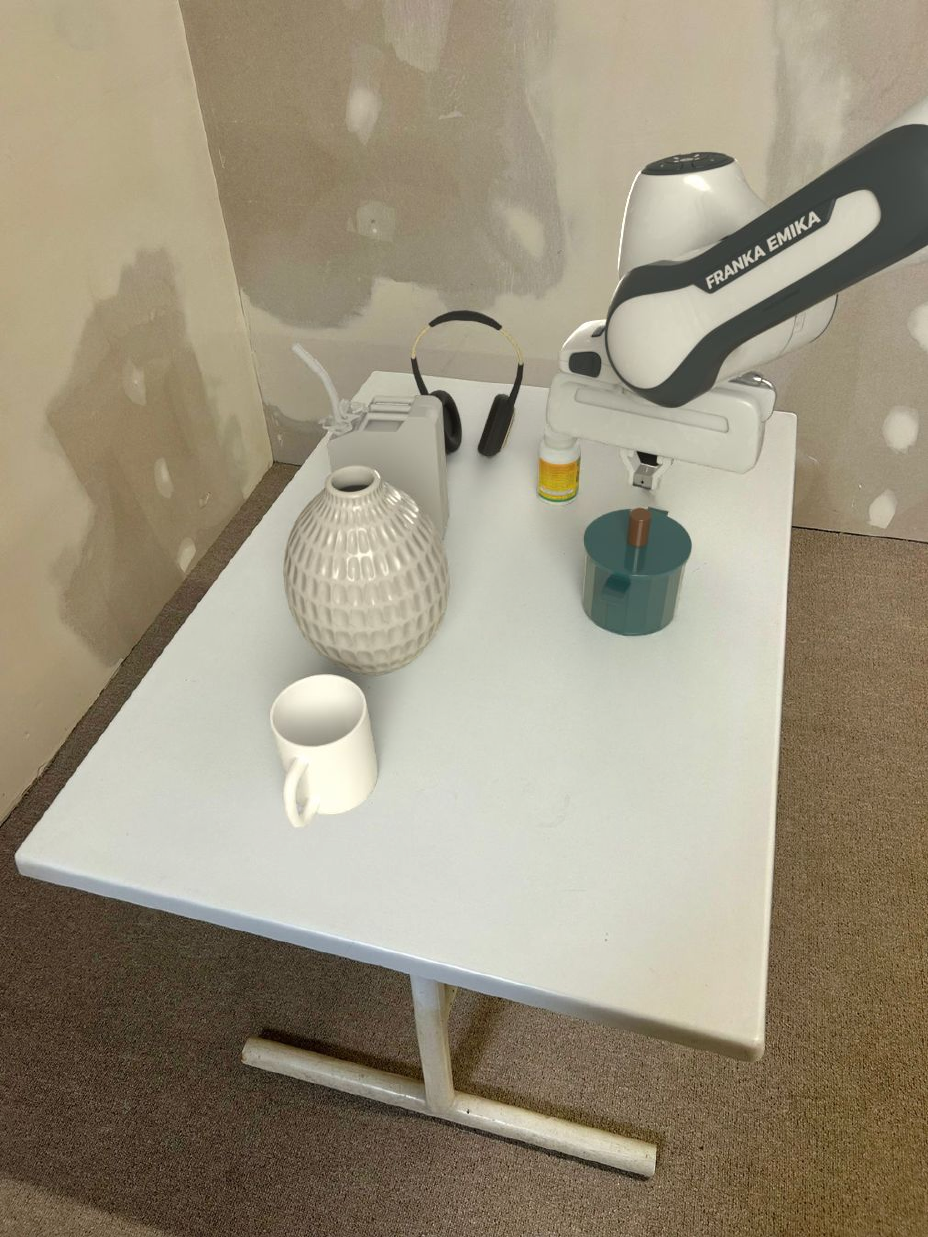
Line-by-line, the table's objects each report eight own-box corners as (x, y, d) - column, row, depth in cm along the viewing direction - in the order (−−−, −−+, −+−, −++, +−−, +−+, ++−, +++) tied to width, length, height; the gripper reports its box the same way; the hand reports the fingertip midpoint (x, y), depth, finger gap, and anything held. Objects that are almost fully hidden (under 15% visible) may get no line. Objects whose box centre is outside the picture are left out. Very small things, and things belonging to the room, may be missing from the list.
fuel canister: (321, 537, 107) (285, 348, 90) (332, 512, 111) (298, 327, 94) (443, 544, 105) (429, 353, 88) (449, 519, 109) (437, 331, 92)
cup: (391, 754, 83) (380, 683, 76) (343, 862, 74) (326, 795, 67) (312, 736, 85) (294, 666, 78) (257, 840, 76) (231, 772, 69)
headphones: (425, 430, 124) (414, 294, 111) (526, 437, 122) (529, 299, 108) (411, 463, 118) (398, 324, 105) (518, 471, 116) (519, 330, 102)
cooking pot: (694, 573, 100) (705, 514, 94) (653, 664, 90) (662, 605, 84) (608, 550, 103) (614, 492, 98) (559, 635, 93) (562, 576, 88)
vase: (473, 615, 96) (466, 443, 81) (424, 724, 85) (405, 549, 70) (339, 589, 100) (308, 420, 85) (276, 690, 89) (228, 518, 74)
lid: (702, 532, 93) (709, 496, 90) (672, 596, 86) (679, 560, 82) (603, 507, 97) (606, 472, 93) (567, 567, 90) (569, 531, 86)
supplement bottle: (532, 485, 114) (534, 421, 107) (572, 480, 114) (576, 416, 107) (541, 509, 110) (543, 444, 103) (582, 504, 110) (587, 439, 104)
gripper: (789, 360, 74) (757, 492, 84) (567, 321, 81) (560, 447, 91) (773, 394, 70) (742, 529, 80) (541, 350, 77) (537, 478, 87)
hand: (644, 485), depth 86 cm, fingers closed
